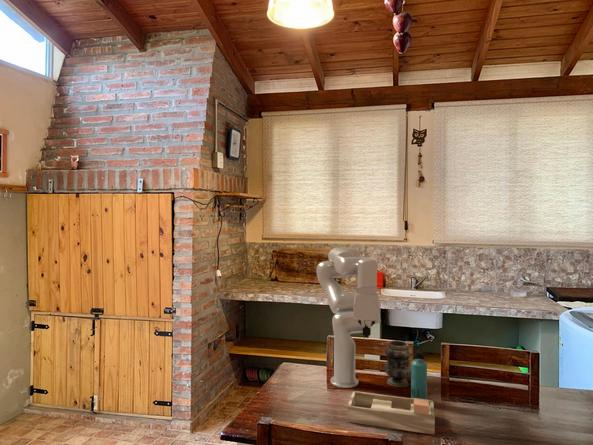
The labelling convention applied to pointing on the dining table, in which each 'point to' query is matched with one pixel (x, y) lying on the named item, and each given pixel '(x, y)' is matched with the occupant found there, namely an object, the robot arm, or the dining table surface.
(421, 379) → the beverage bottle
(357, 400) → the light wood long tray
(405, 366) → the dark ribbed vase
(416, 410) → the block
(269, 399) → the dining table surface
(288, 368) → the dining table surface
